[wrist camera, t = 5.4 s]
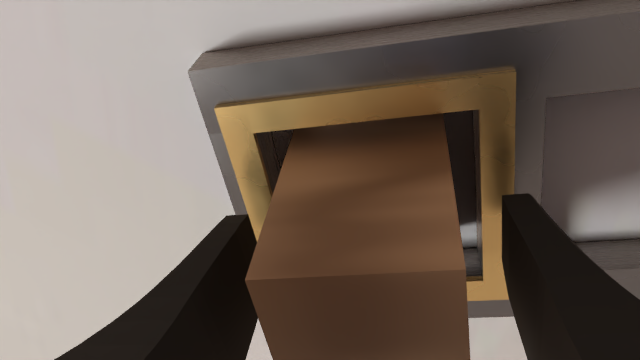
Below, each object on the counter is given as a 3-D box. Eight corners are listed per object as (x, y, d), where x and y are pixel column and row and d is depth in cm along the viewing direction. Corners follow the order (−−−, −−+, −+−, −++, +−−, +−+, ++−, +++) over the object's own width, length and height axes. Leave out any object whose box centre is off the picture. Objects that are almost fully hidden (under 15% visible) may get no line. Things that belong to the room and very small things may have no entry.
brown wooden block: (442, 109, 14) (465, 269, 9) (450, 227, 16) (472, 407, 11) (295, 125, 15) (244, 280, 10) (321, 235, 17) (290, 407, 12)
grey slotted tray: (887, -44, 11) (945, -27, 10) (768, 276, 16) (798, 312, 15) (202, 53, 14) (185, 74, 13) (279, 297, 19) (271, 328, 18)
